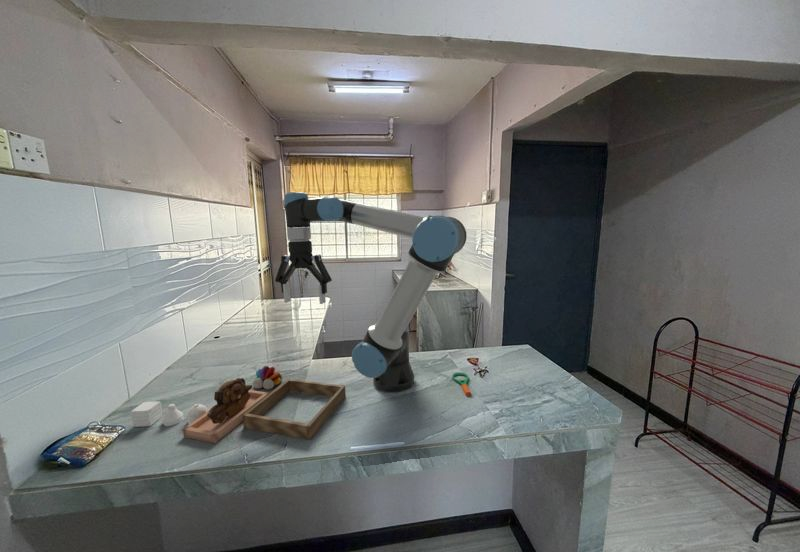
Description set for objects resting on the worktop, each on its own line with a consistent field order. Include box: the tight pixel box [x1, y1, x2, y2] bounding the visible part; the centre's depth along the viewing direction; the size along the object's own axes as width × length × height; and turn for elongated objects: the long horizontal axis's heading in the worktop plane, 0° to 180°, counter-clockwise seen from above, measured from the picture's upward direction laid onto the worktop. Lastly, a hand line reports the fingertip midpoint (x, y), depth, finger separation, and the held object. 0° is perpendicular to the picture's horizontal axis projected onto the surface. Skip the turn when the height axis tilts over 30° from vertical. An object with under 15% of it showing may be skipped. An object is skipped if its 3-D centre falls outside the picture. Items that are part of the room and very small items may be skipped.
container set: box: [130, 400, 208, 428], centre depth 94 cm, size 20×5×6 cm, turn 92°
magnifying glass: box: [451, 371, 472, 397], centre depth 112 cm, size 15×6×2 cm, turn 2°
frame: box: [242, 378, 347, 441], centre depth 98 cm, size 22×22×4 cm
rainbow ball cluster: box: [252, 365, 284, 391], centre depth 114 cm, size 8×10×7 cm
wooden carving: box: [207, 377, 253, 424], centre depth 95 cm, size 16×5×10 cm, turn 172°
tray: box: [182, 389, 270, 444], centre depth 96 cm, size 11×22×2 cm, turn 164°
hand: (304, 302), depth 107 cm, fingers open, 13 cm apart
